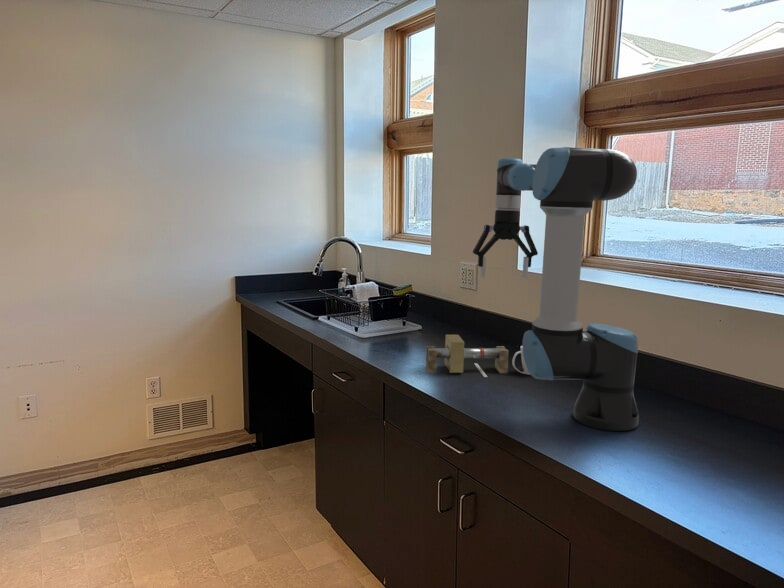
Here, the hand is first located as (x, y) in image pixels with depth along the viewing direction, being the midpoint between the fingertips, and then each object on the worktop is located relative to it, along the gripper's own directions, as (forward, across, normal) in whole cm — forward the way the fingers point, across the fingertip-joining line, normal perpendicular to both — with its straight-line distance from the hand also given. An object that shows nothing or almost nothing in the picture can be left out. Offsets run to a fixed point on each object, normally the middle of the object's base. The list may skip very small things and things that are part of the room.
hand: (503, 277), depth 190 cm
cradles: (+28, +12, +8) cm, 32 cm away
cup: (+28, -6, +11) cm, 31 cm away
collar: (+28, +16, +8) cm, 34 cm away
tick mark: (+28, +8, +8) cm, 30 cm away
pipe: (+24, +12, +8) cm, 28 cm away
